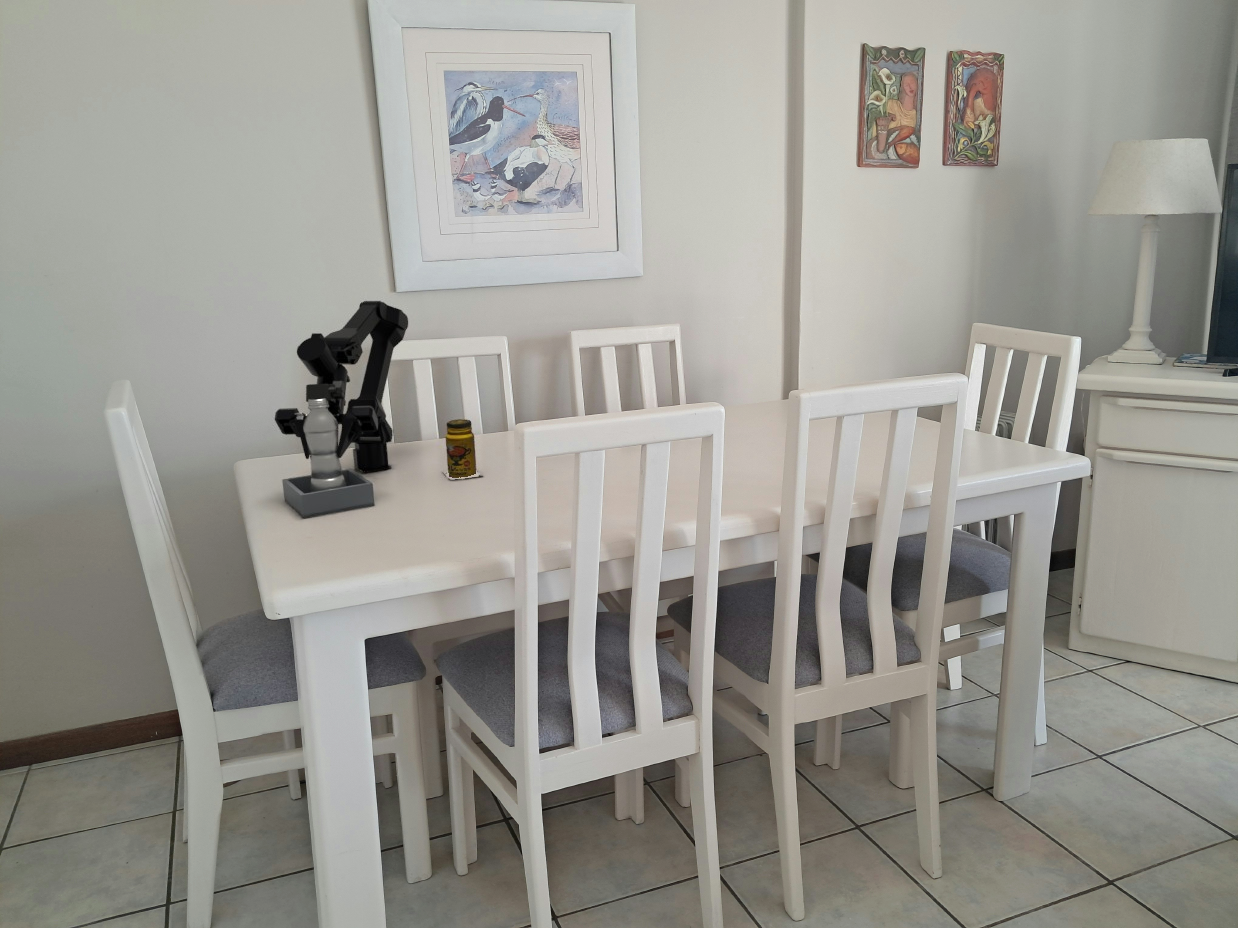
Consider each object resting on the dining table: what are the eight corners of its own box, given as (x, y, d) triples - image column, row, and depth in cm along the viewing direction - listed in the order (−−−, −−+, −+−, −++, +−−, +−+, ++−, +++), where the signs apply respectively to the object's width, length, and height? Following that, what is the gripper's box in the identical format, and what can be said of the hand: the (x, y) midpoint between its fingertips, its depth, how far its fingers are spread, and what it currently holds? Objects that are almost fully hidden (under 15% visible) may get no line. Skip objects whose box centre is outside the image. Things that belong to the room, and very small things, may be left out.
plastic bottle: (330, 505, 176) (318, 401, 172) (304, 503, 179) (292, 400, 175) (354, 497, 182) (343, 396, 177) (329, 495, 185) (317, 395, 181)
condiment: (450, 481, 196) (446, 426, 192) (441, 472, 203) (437, 418, 200) (483, 477, 198) (480, 422, 195) (473, 468, 206) (470, 415, 203)
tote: (352, 489, 191) (350, 468, 190) (374, 505, 180) (372, 483, 178) (284, 501, 183) (282, 479, 182) (303, 518, 172) (301, 495, 171)
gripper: (271, 368, 178) (260, 437, 170) (369, 365, 179) (363, 434, 171) (287, 400, 188) (278, 467, 180) (381, 397, 189) (375, 463, 181)
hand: (323, 457), depth 178 cm, fingers closed on plastic bottle, 6 cm apart
